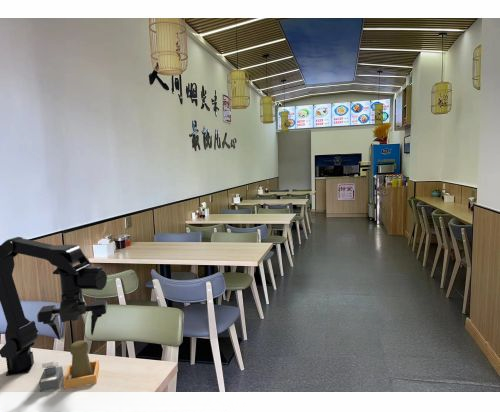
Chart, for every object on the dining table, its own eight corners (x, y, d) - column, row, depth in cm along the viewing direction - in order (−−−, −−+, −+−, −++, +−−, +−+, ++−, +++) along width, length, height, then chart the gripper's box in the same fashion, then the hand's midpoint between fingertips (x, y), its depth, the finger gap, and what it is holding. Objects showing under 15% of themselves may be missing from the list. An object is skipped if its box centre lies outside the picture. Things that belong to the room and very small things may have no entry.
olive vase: (85, 383, 113) (81, 348, 112) (66, 381, 114) (63, 347, 113) (96, 371, 119) (93, 338, 118) (79, 370, 120) (75, 337, 119)
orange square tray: (64, 389, 111) (63, 381, 111) (69, 372, 120) (68, 365, 119) (96, 383, 114) (95, 375, 114) (99, 367, 122) (98, 360, 122)
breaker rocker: (41, 367, 111) (42, 363, 111) (47, 368, 116) (47, 364, 116) (53, 365, 112) (53, 361, 112) (57, 366, 117) (57, 362, 117)
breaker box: (39, 392, 110) (37, 376, 110) (45, 378, 117) (43, 363, 116) (58, 388, 112) (57, 373, 111) (63, 375, 119) (61, 360, 118)
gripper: (29, 301, 104) (35, 355, 107) (102, 293, 109) (106, 344, 112) (39, 288, 115) (44, 336, 117) (105, 281, 120) (109, 328, 122)
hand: (76, 336), depth 117 cm, fingers open, 9 cm apart
